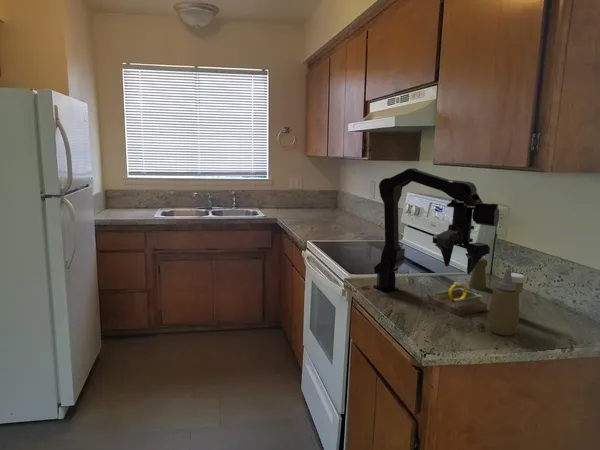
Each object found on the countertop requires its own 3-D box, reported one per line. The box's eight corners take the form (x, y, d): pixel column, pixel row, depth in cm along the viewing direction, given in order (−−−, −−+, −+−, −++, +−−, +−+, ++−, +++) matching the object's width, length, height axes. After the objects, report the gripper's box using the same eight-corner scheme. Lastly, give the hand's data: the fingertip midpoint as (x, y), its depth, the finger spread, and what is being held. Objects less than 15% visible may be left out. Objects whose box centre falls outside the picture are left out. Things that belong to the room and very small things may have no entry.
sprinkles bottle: (500, 314, 138) (504, 272, 136) (514, 314, 138) (519, 272, 136) (508, 320, 134) (513, 277, 131) (523, 320, 134) (528, 276, 132)
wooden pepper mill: (486, 290, 160) (489, 261, 158) (468, 288, 162) (471, 259, 160) (485, 285, 166) (488, 257, 164) (468, 283, 168) (470, 255, 166)
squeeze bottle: (523, 337, 122) (531, 274, 118) (495, 338, 121) (501, 274, 118) (507, 325, 130) (514, 265, 126) (480, 326, 129) (486, 265, 126)
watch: (451, 303, 142) (452, 285, 141) (446, 300, 145) (447, 282, 144) (468, 300, 144) (468, 283, 142) (463, 297, 146) (463, 280, 145)
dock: (428, 302, 147) (429, 290, 147) (455, 297, 153) (456, 286, 152) (459, 316, 136) (460, 303, 135) (486, 310, 142) (487, 297, 141)
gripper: (421, 218, 145) (418, 265, 148) (466, 229, 129) (461, 281, 132) (446, 216, 150) (443, 261, 153) (493, 226, 134) (488, 276, 137)
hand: (457, 270), depth 143 cm, fingers open, 9 cm apart
